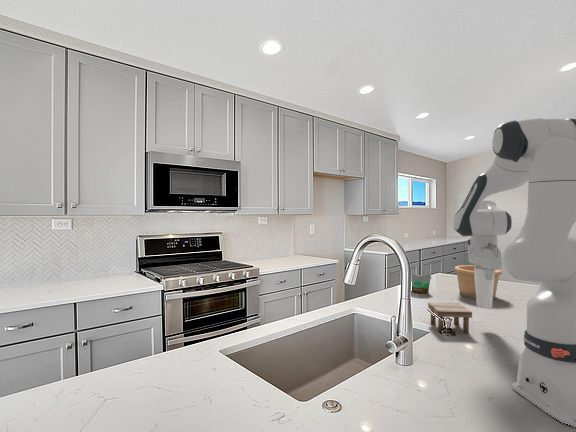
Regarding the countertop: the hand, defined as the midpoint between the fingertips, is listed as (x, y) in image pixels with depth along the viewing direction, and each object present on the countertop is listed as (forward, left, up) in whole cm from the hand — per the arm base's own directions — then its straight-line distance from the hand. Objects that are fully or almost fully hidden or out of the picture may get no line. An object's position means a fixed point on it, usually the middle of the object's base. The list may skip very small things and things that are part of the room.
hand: (484, 277), depth 131 cm
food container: (+51, +10, -19) cm, 56 cm away
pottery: (+49, -19, -20) cm, 56 cm away
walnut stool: (-3, +14, -19) cm, 24 cm away
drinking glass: (0, 0, -12) cm, 12 cm away
